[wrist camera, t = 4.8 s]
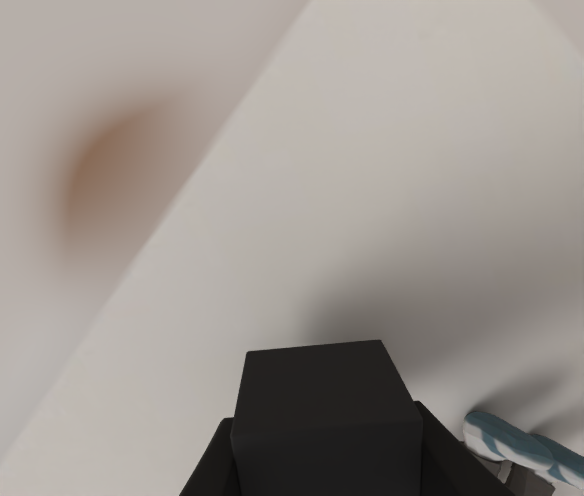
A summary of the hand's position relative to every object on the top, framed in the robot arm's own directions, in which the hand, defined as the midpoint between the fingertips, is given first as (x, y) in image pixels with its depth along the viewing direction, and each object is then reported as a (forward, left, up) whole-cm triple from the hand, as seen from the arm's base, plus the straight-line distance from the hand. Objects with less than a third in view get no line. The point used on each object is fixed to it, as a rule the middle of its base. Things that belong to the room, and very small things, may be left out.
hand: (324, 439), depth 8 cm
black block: (0, 0, -1) cm, 1 cm away
